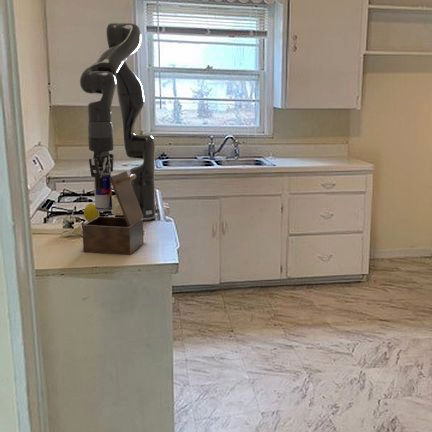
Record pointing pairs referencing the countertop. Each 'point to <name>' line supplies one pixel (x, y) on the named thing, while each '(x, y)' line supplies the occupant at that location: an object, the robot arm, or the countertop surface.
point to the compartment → (112, 235)
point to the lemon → (90, 212)
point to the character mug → (116, 207)
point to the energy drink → (104, 195)
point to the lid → (127, 197)
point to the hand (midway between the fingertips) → (103, 187)
